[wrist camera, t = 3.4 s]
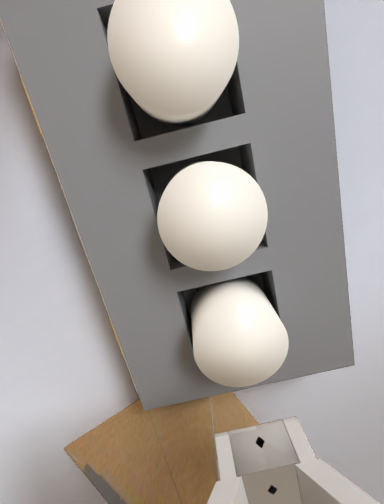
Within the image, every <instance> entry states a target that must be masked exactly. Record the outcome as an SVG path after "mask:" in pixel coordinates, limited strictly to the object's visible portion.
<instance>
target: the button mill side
mask: <svg viewBox="0 0 384 504" xmlns="http://www.w3.org/2000/svg"><path fill="white" fill-rule="evenodd" d="M107 42H108V51H109V55H110V60H111V63H112V66H113V69H114V71H115V73H116V75H117V77H118V79H119V81H120V82H121V84H122V86H123V87H124V88H125V90H126V91H127V92H128V93H129V94H130V96H131V97H132V98H133V99H134V101H135V102H136V103H137V104H138V105H139V107H140V108H141V109H142V110H143V111H144V112H145V113H146V114H147V115H148V116H150V117H151V118H152V119H154V120H156V121H158V122H160V123H163V124H166V125H172V126H182V125H188V124H191V123H194V122H196V121H198V120H199V119H201V118H202V117H204V116H205V115H206V114H207V113H208V112H209V111H210V110H211V109H212V108H213V106H214V105H215V103H216V102H217V100H218V99H219V97H220V95H221V94H222V92H223V90H224V89H225V87H226V85H227V84H228V82H229V80H230V78H231V76H232V74H233V71H234V68H235V66H236V62H237V57H238V50H239V31H238V24H237V19H236V15H235V12H234V9H233V7H232V5H231V2H230V0H115V1H114V4H113V7H112V9H111V13H110V17H109V22H108V30H107Z"/></svg>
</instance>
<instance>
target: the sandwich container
mask: <svg viewBox="0 0 384 504" xmlns="http://www.w3.org/2000/svg"><path fill="white" fill-rule="evenodd" d="M255 425H259V424H258V422H257V421H256V420H255V419H254V418H253V416H252V415H251V414H250V413H249V412H248V410H247V409H246V408H245V407H244V406H243V404H242V403H241V402H240V401H239V400H238V398H237V397H236V396H235V395H234V394H233V393H232V392H228V393H224V394H219V395H214V396H210V397H205V398H201V399H196V400H191V401H187V402H182V403H178V404H173V405H168V406H164V407H159V408H154V409H150V410H145V411H144V408H143V406H142V403H141V400H140V399H139V400H138V401H136V402H134V403H133V404H131V405H130V406H128V407H127V408H125V409H124V410H122V411H120V412H119V413H117V414H116V415H114V416H113V417H111V418H110V419H108V420H106V421H105V422H103V423H102V424H100V425H99V426H97V427H96V428H94V429H93V430H91V431H89V432H88V433H86V434H85V435H83V436H82V437H80V438H79V439H77V440H75V441H74V442H72V443H71V444H69V445H68V446H66V447H65V448H64V450H65V451H66V452H67V454H68V455H69V456H70V457H71V458H72V460H73V461H74V462H75V463H76V464H77V465H78V467H79V468H80V469H81V470H82V471H83V473H84V474H85V475H86V476H87V477H88V479H89V480H90V481H91V482H92V484H93V485H94V486H95V487H96V489H97V490H98V491H99V492H100V493H101V495H102V496H103V497H104V498H105V500H106V501H107V502H108V503H109V504H207V502H208V500H209V497H210V495H211V492H212V490H213V488H214V485H215V483H216V482H217V481H220V476H219V468H218V461H217V453H216V446H215V434H217V433H222V432H227V431H228V432H229V431H231V430H237V429H242V428H247V427H252V426H255Z"/></svg>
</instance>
